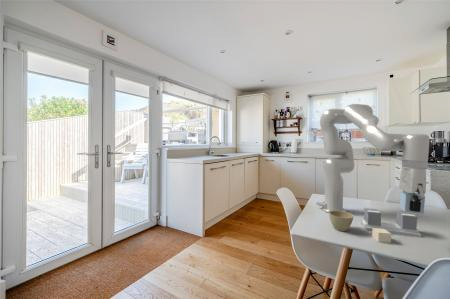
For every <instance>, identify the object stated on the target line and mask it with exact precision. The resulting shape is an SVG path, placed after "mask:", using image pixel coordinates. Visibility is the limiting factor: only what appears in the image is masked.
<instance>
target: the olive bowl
mask: <svg viewBox="0 0 450 299" xmlns="http://www.w3.org/2000/svg"><path fill="white" fill-rule="evenodd" d="M328 214H329V215H328V216H329V220H330V222H331V225H332V227H333V228H334V229H335V230H337V231H338V232H339V231H340V232H346V231H347V230H348V229H350V227H351V225H352V223H353V221H354V215H353V214H351V213H349V212H347V211H346V212H343V211H330V212H329V213H328Z"/></svg>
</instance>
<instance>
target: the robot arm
mask: <svg viewBox="0 0 450 299" xmlns="http://www.w3.org/2000/svg"><path fill="white" fill-rule="evenodd" d="M379 121H380V120H379V117H378V116H377V115H375V114H374V111H373V107H371V106H370V105H368V104H363V103H361V104H359V103H351V104H349V105H347V106H346V107H344V109H339V108H330V109H327V110H324V111H323V113H322V114H321V116H320V120H319V125H320V130H321V133H322V141H323V149H324V153H325V154H326V155H327V156H337V157H329V158H326V159H325V161H324V163H323V171H324V200H323V201H321V202H320V201H316V203H315V204H316V206H318V207H321V210H322V211H323V212H325V213H328V214H329V212H330V211H343V212H347V211H346V208H344V179H343V177H342V174H350V173H351V172H353V171H354V169H355V158H354V151H353V150H354V149H353V147H352V144H351V142H349V141H348V140H347V139H340V136H339V130H338V129H337V127H336V126H335V125H337V124H338V125H339V124H340V125H350V124H353V125H355V126H356V127H358V128H359V129H360V130H361V132H362V135H363V137H364V139H365V140H366V141H367V143H369V144H370V145H371V146H373V147H374V148H375V149H377V150H379V151H383V152H401V151H402V159H401V172H400V177H399V183H398V184H399V186H398V188H399V189H400V190H402V192H407V193H409V194H411V201H410V209H409V210H410V211H416V212H420V209H421V202H422V199H423V198H424V197H425V198H426V196H425V194H426V191H427V170H428V163H429V162H428V161H429V151H430V150H429V149H430V136H429V135H428V134H424V133H423V134H422V133H420V134H418V133H415V134H413V133H412V134H410V133H408V134H403V133H387V132H385V131H384V130H383V129H381V128H380V127H379V126H377V125H378V124H379V123H380V122H379ZM415 193H418V194H415ZM414 195H418V196H415V198H414Z"/></svg>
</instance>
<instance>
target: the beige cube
mask: <svg viewBox="0 0 450 299" xmlns="http://www.w3.org/2000/svg"><path fill="white" fill-rule="evenodd" d="M371 235H372V238H373V239H374V240H376V242H378V243H386V244H387V243H388V244H391V243H392V242H391V241H392V233H390V232H388V231H387V230H385V229H379V228H373V231H372V234H371Z"/></svg>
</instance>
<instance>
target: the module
mask: <svg viewBox="0 0 450 299" xmlns="http://www.w3.org/2000/svg"><path fill="white" fill-rule="evenodd" d="M415 194H418V193H417V192H415ZM399 196H400V199H399V209H400V210H402V212H410V213H412V214H422V215H424V214H425V201H426V200H425V199H426V196H425V197H424V198H423V199H422V202H421V209H420V212H416V211H410V210H409V209H410V201H411V194H409V193H407V192H403V191H400V195H399ZM415 196H418V195H414V198H415Z"/></svg>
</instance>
